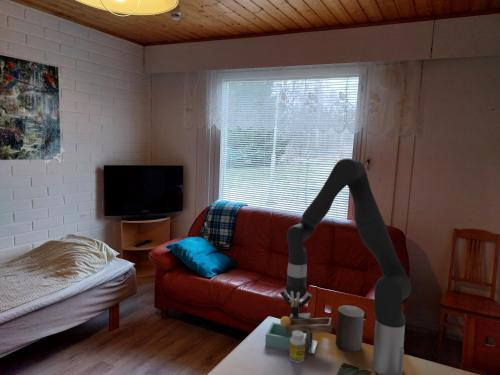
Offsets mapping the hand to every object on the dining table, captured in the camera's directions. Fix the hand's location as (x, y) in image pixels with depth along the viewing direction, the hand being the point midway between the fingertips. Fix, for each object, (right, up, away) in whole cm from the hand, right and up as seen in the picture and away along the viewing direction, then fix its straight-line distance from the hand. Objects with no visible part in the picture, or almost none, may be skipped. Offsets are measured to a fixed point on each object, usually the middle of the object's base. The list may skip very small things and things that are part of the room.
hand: (294, 315), depth 148 cm
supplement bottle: (-2, -9, -18) cm, 21 cm away
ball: (-5, +1, -9) cm, 10 cm away
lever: (+5, -1, -8) cm, 9 cm away
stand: (+4, -8, -11) cm, 14 cm away
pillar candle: (+20, -9, -8) cm, 23 cm away
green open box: (-6, -8, -8) cm, 13 cm away
